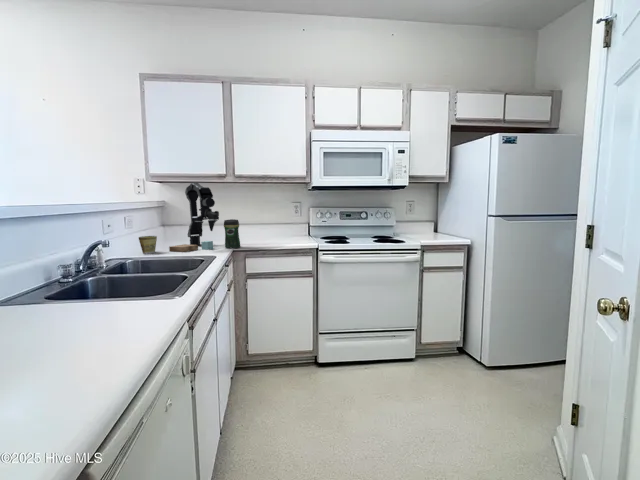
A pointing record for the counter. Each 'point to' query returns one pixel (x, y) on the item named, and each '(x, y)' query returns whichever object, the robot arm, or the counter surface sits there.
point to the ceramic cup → (148, 244)
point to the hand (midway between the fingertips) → (206, 231)
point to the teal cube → (207, 245)
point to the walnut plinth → (183, 248)
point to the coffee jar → (231, 233)
